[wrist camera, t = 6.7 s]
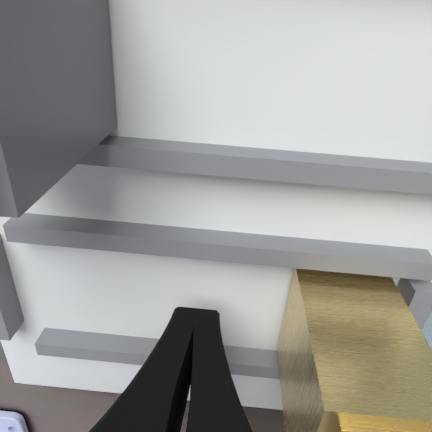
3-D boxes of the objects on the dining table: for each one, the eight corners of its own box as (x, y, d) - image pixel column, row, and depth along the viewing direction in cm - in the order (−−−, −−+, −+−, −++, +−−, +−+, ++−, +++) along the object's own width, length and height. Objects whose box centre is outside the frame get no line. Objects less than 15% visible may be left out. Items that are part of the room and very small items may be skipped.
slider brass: (356, 355, 14) (418, 545, 9) (276, 347, 14) (294, 531, 9) (388, 271, 12) (490, 456, 7) (295, 262, 12) (330, 440, 7)
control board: (369, 394, 17) (385, 444, 15) (28, 359, 17) (1, 403, 15) (748, -461, 6) (996, -692, 4) (-220, -500, 6) (-426, -724, 4)
